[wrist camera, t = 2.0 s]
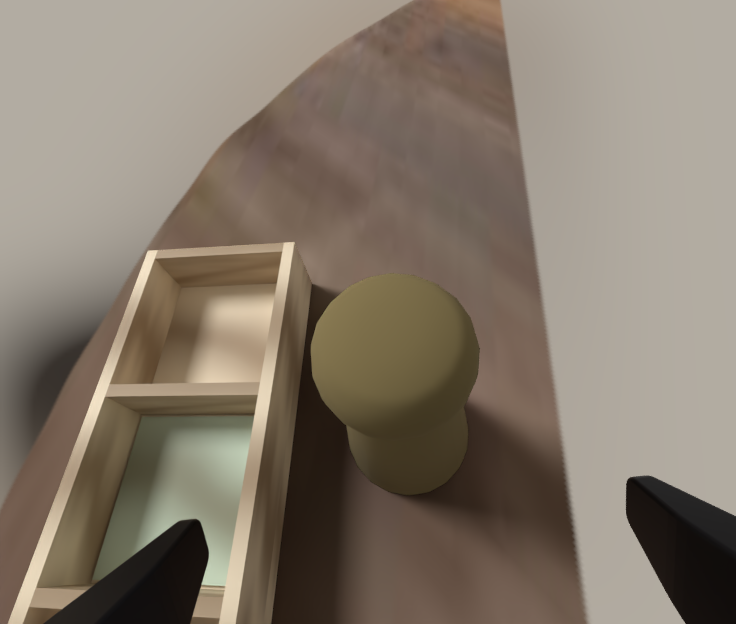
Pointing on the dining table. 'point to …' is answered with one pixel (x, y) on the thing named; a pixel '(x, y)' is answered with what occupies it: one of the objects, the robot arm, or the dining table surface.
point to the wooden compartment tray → (186, 432)
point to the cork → (398, 378)
